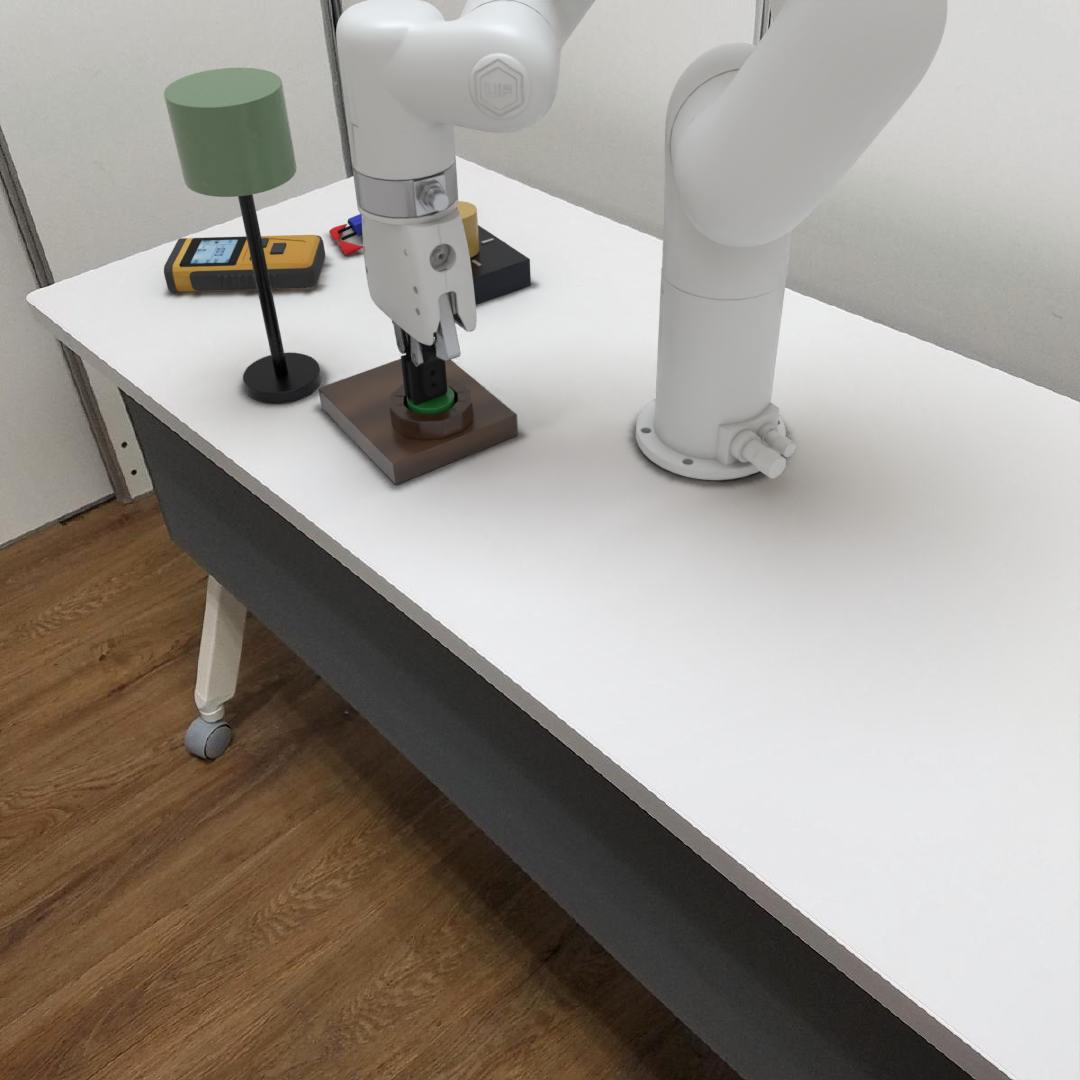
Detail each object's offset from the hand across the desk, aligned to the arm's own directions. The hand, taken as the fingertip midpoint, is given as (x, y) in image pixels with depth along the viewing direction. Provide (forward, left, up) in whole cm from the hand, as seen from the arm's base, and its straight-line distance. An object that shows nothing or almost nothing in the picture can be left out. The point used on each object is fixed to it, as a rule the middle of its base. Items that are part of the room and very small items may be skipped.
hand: (426, 395), depth 95 cm
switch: (0, 0, -2) cm, 2 cm away
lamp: (+16, +7, -4) cm, 18 cm away
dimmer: (+24, -17, -1) cm, 29 cm away
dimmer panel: (+24, -17, -4) cm, 30 cm away
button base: (+3, 0, -4) cm, 5 cm away
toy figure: (+38, -17, -5) cm, 42 cm away
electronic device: (+38, +1, -5) cm, 38 cm away
